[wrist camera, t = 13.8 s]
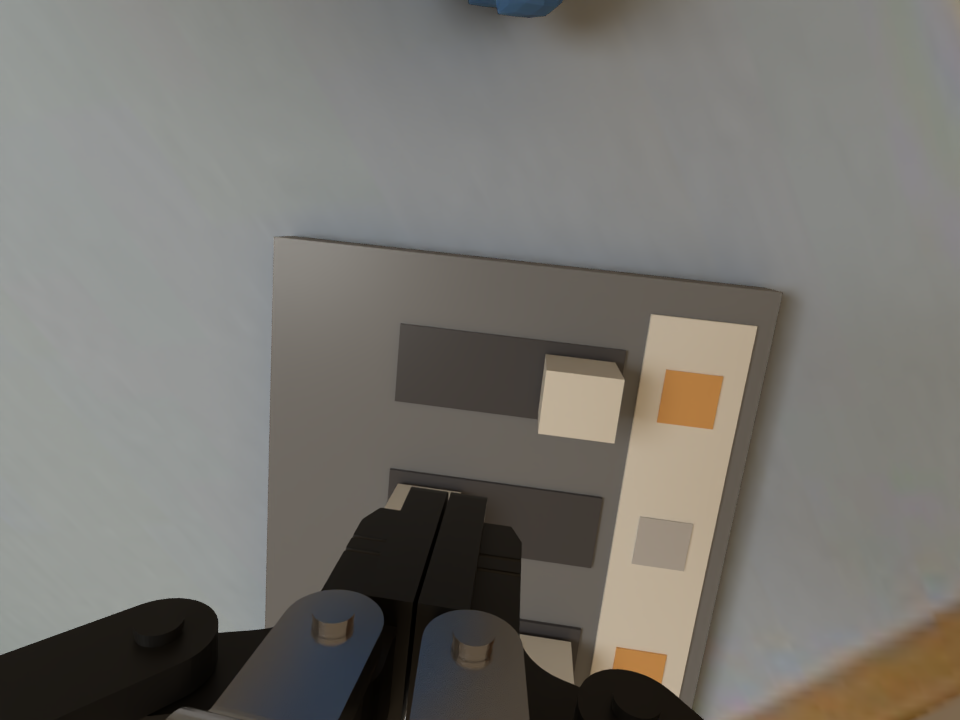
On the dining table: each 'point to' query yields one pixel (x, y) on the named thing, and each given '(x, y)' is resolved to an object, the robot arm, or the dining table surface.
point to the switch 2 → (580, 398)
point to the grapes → (520, 6)
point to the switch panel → (519, 431)
